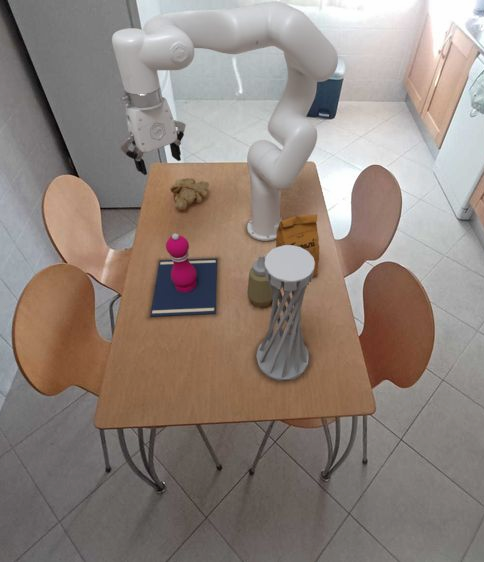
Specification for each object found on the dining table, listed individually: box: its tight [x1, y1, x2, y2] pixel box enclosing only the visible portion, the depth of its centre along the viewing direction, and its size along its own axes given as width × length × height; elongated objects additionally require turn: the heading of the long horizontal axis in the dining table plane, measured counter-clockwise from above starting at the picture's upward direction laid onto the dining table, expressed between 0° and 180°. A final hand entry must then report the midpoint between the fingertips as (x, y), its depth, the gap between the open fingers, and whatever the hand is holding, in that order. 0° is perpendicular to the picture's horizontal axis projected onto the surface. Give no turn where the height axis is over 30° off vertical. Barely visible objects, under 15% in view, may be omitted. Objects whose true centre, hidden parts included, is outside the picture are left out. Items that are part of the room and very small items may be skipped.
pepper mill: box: [165, 233, 197, 293], centre depth 109 cm, size 7×7×20 cm
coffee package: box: [275, 214, 320, 277], centre depth 113 cm, size 10×12×22 cm
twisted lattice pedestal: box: [255, 245, 315, 382], centre depth 88 cm, size 14×13×35 cm
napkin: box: [149, 257, 218, 318], centre depth 117 cm, size 18×22×1 cm
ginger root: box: [169, 177, 210, 211], centre depth 143 cm, size 16×16×8 cm
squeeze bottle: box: [246, 253, 273, 308], centre depth 107 cm, size 8×8×18 cm
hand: (160, 165), depth 98 cm, fingers open, 9 cm apart
